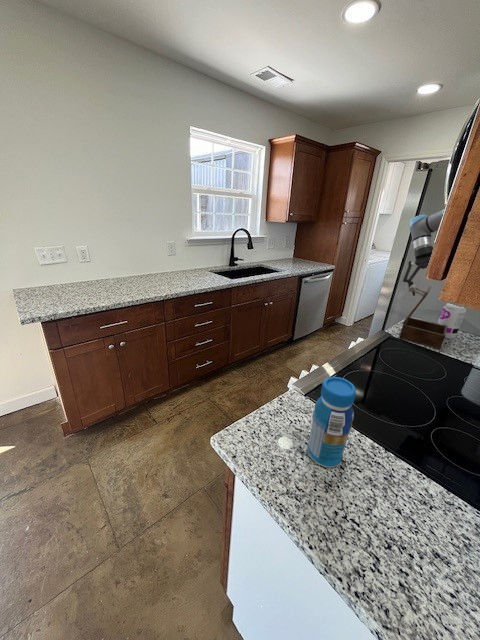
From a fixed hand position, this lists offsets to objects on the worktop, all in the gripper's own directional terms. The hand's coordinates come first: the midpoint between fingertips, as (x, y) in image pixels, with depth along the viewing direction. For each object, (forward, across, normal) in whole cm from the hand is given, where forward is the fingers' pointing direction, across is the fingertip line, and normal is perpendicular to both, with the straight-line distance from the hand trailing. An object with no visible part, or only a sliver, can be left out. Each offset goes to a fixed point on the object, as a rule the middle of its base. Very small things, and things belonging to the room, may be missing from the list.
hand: (431, 292), depth 121 cm
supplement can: (+20, -3, -9) cm, 22 cm away
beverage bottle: (+47, +35, +80) cm, 99 cm away
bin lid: (+6, +7, +7) cm, 12 cm away
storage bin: (+21, +7, +2) cm, 22 cm away
